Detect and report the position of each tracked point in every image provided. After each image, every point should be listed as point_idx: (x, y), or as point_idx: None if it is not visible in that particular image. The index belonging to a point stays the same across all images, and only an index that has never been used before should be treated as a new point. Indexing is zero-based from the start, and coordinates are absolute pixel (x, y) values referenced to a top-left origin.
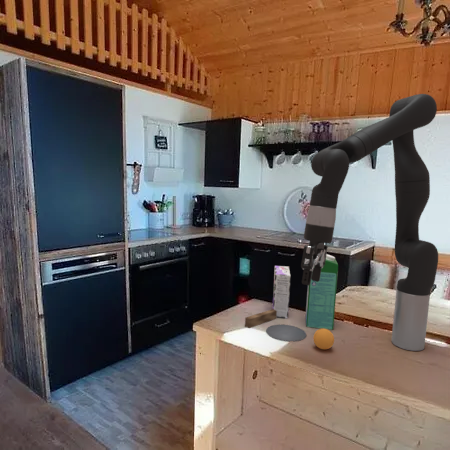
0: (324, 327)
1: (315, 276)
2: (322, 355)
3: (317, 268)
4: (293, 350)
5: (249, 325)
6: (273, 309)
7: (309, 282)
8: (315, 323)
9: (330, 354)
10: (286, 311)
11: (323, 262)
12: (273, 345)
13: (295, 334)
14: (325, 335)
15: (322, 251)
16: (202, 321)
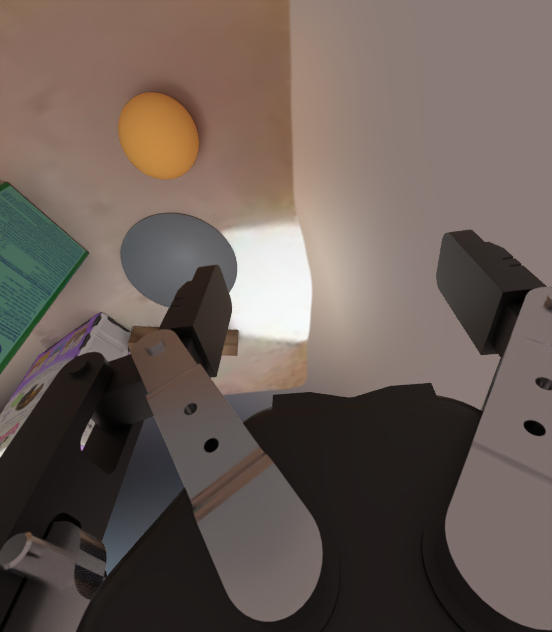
0: (34, 209)
1: (220, 306)
2: (213, 103)
3: (203, 349)
4: (257, 193)
5: (237, 334)
6: (128, 350)
7: (476, 239)
8: (58, 238)
9: (182, 83)
10: (98, 328)
11: (100, 383)
12: (272, 245)
13: (168, 243)
14: (174, 125)
15: (326, 555)
16: (287, 388)
